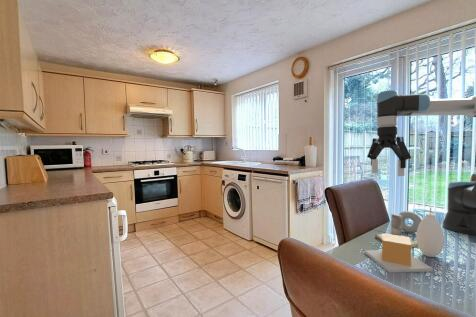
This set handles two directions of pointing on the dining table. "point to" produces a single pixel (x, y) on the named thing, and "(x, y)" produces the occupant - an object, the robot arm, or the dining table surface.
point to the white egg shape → (430, 236)
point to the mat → (394, 267)
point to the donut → (414, 218)
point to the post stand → (396, 228)
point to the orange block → (396, 249)
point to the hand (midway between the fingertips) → (387, 174)
